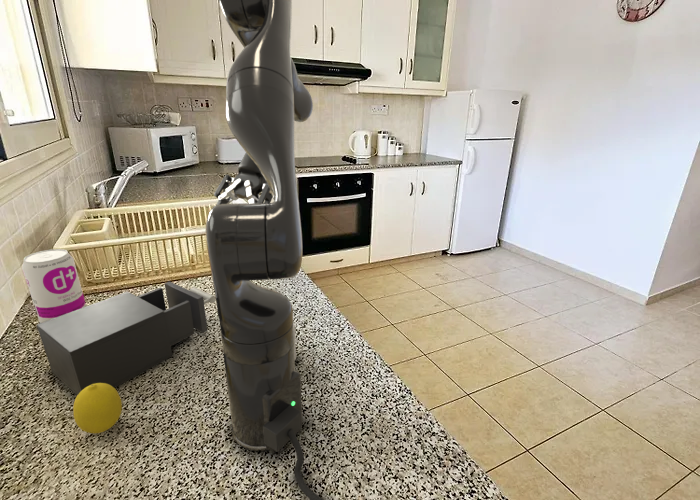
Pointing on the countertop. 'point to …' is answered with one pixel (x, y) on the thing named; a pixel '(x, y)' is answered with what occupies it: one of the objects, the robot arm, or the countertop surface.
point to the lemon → (97, 408)
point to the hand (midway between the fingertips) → (229, 220)
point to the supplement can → (53, 283)
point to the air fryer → (106, 341)
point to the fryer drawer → (181, 309)
